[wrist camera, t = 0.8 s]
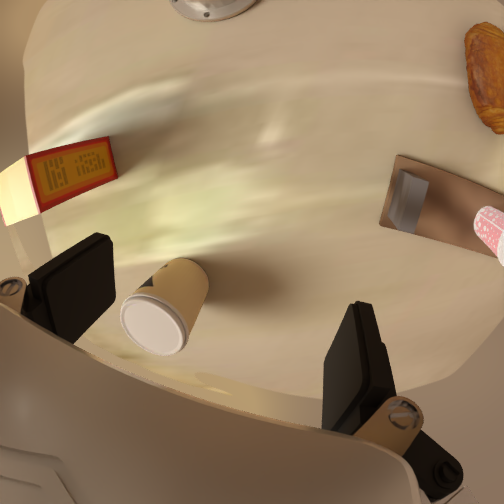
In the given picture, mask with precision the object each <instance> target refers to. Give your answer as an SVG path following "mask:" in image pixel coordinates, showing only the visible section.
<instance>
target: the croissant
mask: <svg viewBox="0 0 504 504" xmlns="http://www.w3.org/2000/svg"><path fill="white" fill-rule="evenodd" d="M465 35H466V36H465V40H464V42H465V48H466V51H465V55H466V61H467V67H466V69H467V72H468V74H467V75H468V84H469V93H470V97H471V100H472V102H473V105H474V108H475V109H476V113H477V115H478V116H479V118H480V119H481V120H482V122H483V123H484V124H485V125H486V126H488V127H490V128H492V131H493V132H495V133H496V134H504V33H503V32H502V31H501V30H500V29H499V28H497V27H496V26H494V25H492V24H490V23H488V22H483V23H480V24H476V25H474V26H473V27H472V28H470V30H469V31H468V32H467V33H466V34H465Z"/></svg>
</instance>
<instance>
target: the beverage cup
mask: <svg viewBox="0 0 504 504" xmlns="http://www.w3.org/2000/svg"><path fill="white" fill-rule="evenodd" d="M474 230H475V232H476V234H477V236H478V237H479V238H480V239H481V240H482V241H483V242H484V243H485V244H486V245H487V246H488V247H489V248H490V249H491V250H492V252H493V253H494V254H495V255H496V256H497V257H498V259H499V261H500V263H501V264H502V266H504V213H503V212H501V211H499V210H497V209H495V208H493V207H491V206H485V207H483V208H481V209H480V210H479V211H478V213H477V215H476V217H475V220H474Z"/></svg>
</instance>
